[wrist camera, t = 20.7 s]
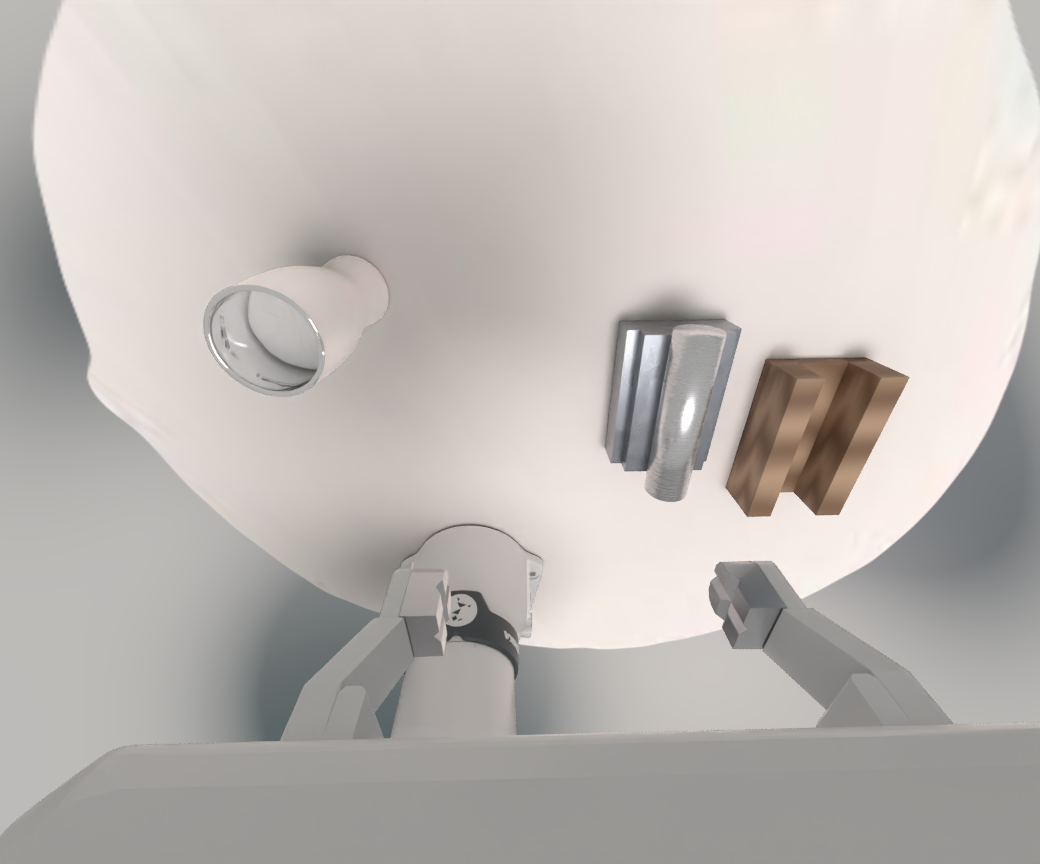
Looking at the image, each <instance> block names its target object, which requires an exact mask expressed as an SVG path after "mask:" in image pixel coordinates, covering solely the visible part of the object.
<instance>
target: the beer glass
mask: <svg viewBox="0 0 1040 864" xmlns="http://www.w3.org/2000/svg"><path fill="white" fill-rule="evenodd" d="M388 303H389V292H388V287H387V284H386V282H385V280H384V278H383V276H382V275H381V273H380V272H379V271H378V270H377V269H376V268H375V267H374V266H373V265H372V264H371V263H369V262H368V261H366V260H364V259H362V258H359V257H356V256H352V255H342V256H337V257H335V258H333V259H331V260H329V261H328V262H327V263H325V264H324V265H323V267H318V266H286V267H281V268H277V269H272V270H269V271H266V272H263V273H260V274H257V275H255V276H252V277H250V278H248V279H246V280H244V281H242V282H240V283H238V284H236V285H234V286H231V287H228V288H225V289H223V290H222V291H220V292H219V293H217V294H216V295H215V296H214V297H213V298H212V299H211V301H210V302H209V304H208V306H207V308H206V311H205V314H204V323H203V325H204V334H205V338H206V341H207V344H208V347H209V349H210V351H211V353H212V354H213V356H214V358H215V359H216V361H217V362H218V363H219V365H220V366H221V367H222V368H223V369H224V370H225V371H226V372H227V373H228V374H229V375H230V376H231V377H233V378H234V379H235V380H236V381H238V382H239V383H241V384H242V385H244V386H246V387H248V388H250V389H252V390H254V391H257V392H259V393H262V394H266V395H271V396H279V397H285V396H293V395H297V394H300V393H303V392H305V391H307V390H309V389H310V388H311V387H313V386H314V385H315V384H316V383H317V382H319V381H320V380H322V379H323V378H325V377H326V376H327V375H329V374H330V373H332V372H333V371H334V370H335V369H336V368H337V367H339V366H340V365H341V364H342V363H343V362H344V361H345V360H346V359H347V358H348V356H349V355H350V354H351V353H352V352H353V350H354V348H355V347H356V345H357V343H358V342H359V340H360V337H361V335H362V333H363V330H364V328H365V327H367V326H370V325H372V324H374V323H376V322H377V321H379V320H380V319H381V318H382V317H383V315H384V314H385V312H386V310H387V307H388Z"/></svg>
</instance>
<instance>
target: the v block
mask: <svg viewBox="0 0 1040 864" xmlns="http://www.w3.org/2000/svg"><path fill="white" fill-rule="evenodd" d="M685 324H698V325H707V326H712V327H716V328H719V329H722V330H724V331H725V332H726V333H727V335H726V339H725V343H724V347H723V351H722V355H721V359H720V363H719V367H718V371H717V375H716V379H715V383H714V387H713V390H712V394H711V398H710V402H709V406H708V410H707V414H706V418H705V422H704V426H703V430H702V434H701V438H700V442H699V445H698V449H697V453H696V457H695V461H694V465H693V469H692V470H701V469H702V465H703V462H704V461H706V459H707V455H708V452H709V448H710V444H711V440H712V437H713V433H714V429H715V426H716V422H717V418H718V415H719V411H720V407H721V403H722V400H723V396H724V392H725V389H726V385H727V381H728V377H729V374H730V370H731V366H732V363H733V359H734V355H735V351H736V348H737V344H738V340H739V337H740V333H741V328H740V327H738V326H736V325H734V324H733V323H731V322H729V321H727V320H675V321H619V329H618V338H617V347H616V356H615V364H614V373H613V382H612V391H611V400H610V408H609V417H608V426H607V435H606V444H605V449H606V452H607V454H608V457H609V460H610V462H611V463H622V466H623V468H624V471H647V468H648V463H649V457H650V452H651V446H652V441H653V436H654V430H655V425H656V419H657V414H658V408H659V403H660V397H661V392H662V387H663V381H664V376H665V370H666V365H667V359H668V354H669V349H670V343H671V338H672V332H673V328H674V327H676V326H679V325H685Z"/></svg>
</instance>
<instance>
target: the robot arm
mask: <svg viewBox="0 0 1040 864" xmlns="http://www.w3.org/2000/svg"><path fill="white" fill-rule="evenodd" d="M714 571H715V573H716V575H717V577H715V578H714V579H713V580H712V581H711V582H710V586H709V599H710V602H711V605H712V608H713V610H714V612H715V614H717V615H718V616H719V617H721V618H722V619H723V620H724V622H723V626H722V628H723V630H724V632H725V634H726V636H727V638H728V640H729V642H730V644H731V646H732V648H733V649H763V652H765V653H766V654H767V655H768V656H769V657H770V658H771V659H772V660H773V661H774V662H775V663H776V664H777V665H779V666H780V667H781V668H782V669H783V670H784V671H785V672H786V673H787V674H788V675H789V676H790V677H791V678H792V679H794V680H795V681H796V682H797V683H798V684H799V685H800V686H801V687H802V688H803V689H804V690H806V691H807V692H808V693H809V694H810V695H811V696H812V697H813V698H814V699H815V700H816V701H817V702H818V703H819V704H821V705H822V706H823V707H824V708H825V709H826V711H825V713H824V714H823V716H822V717H821V718H820V720H819V721H818V723H817V726H816V728H788V729H787V728H786V729H748V730H747V729H746V730H710V731H709V730H706V731H671V732H670V731H666V732H630V733H629V732H625V733H587V734H549V735H516V720H515V697H514V680H515V679H516V677H517V674H518V664H519V647H518V642H519V639H520V637H525V638H529V637H530V636H531V631H532V613H530V610H531V607H532V604H533V601H534V597H535V594H536V591H537V588H538V584H539V581H540V578H541V575H542V572H543V561H542V559H540V558H539V557H537V556H535V555H533V554H531V553H528V552H526V551H525V550H523V549H522V548H521V547H520V546H519V545H518V544H517V543H516V542H515V541H514V540H513V539H512V538H510V537H509V536H507V535H506V534H504V533H502V532H500V531H497V530H494V529H491V528H487V527H482V526H458V527H453V528H449V529H446V530H443V531H441V532H439V533H437V534H435V535H433V536H432V537H431V538H429V539H428V540H427V541H426V542H425V543H424V544H423V546H422V547H421V549H420V550H419V551H418V552H417V553H416V554H415V555H413V556H411V557H409V558H407V559H406V560H404V561H403V562H402V563H401V568H400V569H396V570H395V572H394V573H393V575H392V578H391V582H390V585H389V588H388V591H387V594H386V597H385V600H384V603H383V606H382V610H381V613H380V616H379V618H373V619H372V620H371V621H370V622H369V623H368V624H367V625H366V626H365V627H364V628H363V629H362V630H361V631H360V632H359V633H358V634H357V635H356V636H355V637H354V638H353V639H352V640H351V641H349V642H348V643H347V644H346V645H345V646H344V647H343V648H342V649H341V650H340V651H339V652H338V653H337V654H336V655H335V656H334V657H333V658H332V659H331V660H330V661H329V662H328V663H327V664H326V665H325V666H324V667H323V668H321V670H319V671H318V672H317V673H316V674H315V675H314V676H313V677H312V678H311V679H310V680H309V681H308V682H307V683H306V684H305V685H304V687H303V689H302V692H301V694H300V696H299V698H298V701H297V703H296V705H295V707H294V710H293V712H292V714H291V717H290V719H289V721H288V724H287V726H286V728H285V730H284V733H283V735H282V737H281V740H280V741H268V742H228V743H188V744H147V745H131V746H123V747H119V748H117V749H114V750H111V751H110V752H107V753H106V754H104V755H103V756H101V757H100V758H99V759H97V760H96V761H94V762H93V763H91V764H90V765H88V766H87V767H86V768H84V769H83V770H81V771H80V772H79V773H77V774H76V775H75V776H73V777H72V778H70V779H69V780H68V781H66V782H65V783H64V784H62V785H61V786H60V787H58V788H57V789H56V790H54V791H53V792H51V793H50V794H49V795H47V796H46V797H45V798H44V799H42V800H41V801H39V802H38V803H37V804H36V805H34V806H33V807H32V808H31V809H29V810H28V811H27V812H25V813H24V814H23V815H22V816H20V817H19V818H18V819H17V820H16V821H15V822H14V823H12V824H11V825H10V826H9V827H8V828H7V829H6V830H5V831H4V832H3V833H2V835H1V836H0V864H1040V722H1025V723H1024V722H1022V723H986V724H953V722H952V721H951V720H950V719H949V718H948V717H947V715H946V714H945V713H944V712H943V711H942V709H941V708H940V707H939V706H938V705H937V703H936V702H935V701H934V700H933V699H932V697H931V696H930V695H929V694H928V693H927V692H926V690H925V689H924V688H923V687H922V686H921V685H920V683H919V682H918V681H917V680H916V678H915V677H914V676H913V675H912V674H911V672H910V671H908V670H906V669H905V668H904V667H902V666H901V665H899V664H898V663H896V662H894V661H893V660H891V659H890V658H888V657H887V656H885V655H884V654H882V653H881V652H879V651H878V650H876V649H874V648H873V647H871V646H870V645H868V644H867V643H865V642H864V641H862V640H861V639H859V638H858V637H856V636H854V635H853V634H851V633H850V632H848V631H847V630H845V629H844V628H842V627H840V626H839V625H838V624H836V623H834V622H833V621H831V620H830V619H828V618H827V617H825V616H824V615H822V614H821V613H819V612H817V611H816V610H815V609H813V608H807V607H806V606H805V604H804V603H803V602H802V600H801V599H800V598H799V596H798V595H797V593H796V592H795V591H794V589H793V588H792V587H791V585H790V584H789V582H788V581H787V580H786V578H785V577H784V576H783V574H782V573H781V572H780V570H779V569H778V567H777V566H776V565H775V564H774V563H773V562H771V561H753V562H752V561H739V562H719V563H718V564H717V565H716V568H715V570H714ZM403 674H405V677H404V681H403V685H402V690H401V694H400V699H399V703H398V708H397V712H396V717H395V721H394V726H393V730H392V734H391V738H390V739H384V737H383V735H382V732H381V729H380V727H379V724H378V721H377V719H376V716H375V714H374V713H375V712H376V710H377V709H378V708H379V706H380V705H381V703H382V702H383V701H384V699H385V698H386V696H387V695H388V694H389V692H390V691H391V690H392V689H393V687H394V686H395V684H396V683H397V682H398V680H399V679H400V678H401V676H402V675H403Z"/></svg>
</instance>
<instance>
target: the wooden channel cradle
mask: <svg viewBox="0 0 1040 864" xmlns="http://www.w3.org/2000/svg"><path fill="white" fill-rule="evenodd" d="M908 379H909V377H908V376H906V375H903V374H901V373H899V372H897V371H895V370H892V369H890V368H888V367H886V366H883V365H881V364H879V363H877V362H874V361H872V360H870V359H868V358H827V359H768V360H766V361H765V364H764V368H763V371H762V374H761V377H760V380H759V383H758V387H757V390H756V393H755V396H754V399H753V403H752V406H751V409H750V412H749V415H748V419H747V422H746V425H745V428H744V431H743V435H742V438H741V441H740V444H739V447H738V451H737V454H736V457H735V460H734V463H733V467H732V470H731V473H730V476H729V479H728V483H727V486H726V489H727V490H728V491H729V493H730V494H731V495H732V497H733V498H734V500H735V501H736V502H737V504H738V505H739V506H740V508H741V509H742V510H743V512H744V513H745V514H746V516H747V517H757V516H770V515H771V513H772V510H773V508H774V505H775V503H776V500H777V498H778V496H779V493H780V492H794V493H795V494H796V495H797V496H798V497H799V498H800V499H801V500H802V501H803V502H804V503H805V504H806V505H807V506H808V507H809V509H810V510H811V511H812V512H813V513H814V514H815V515H839V514H840V512H841V510H842V508H843V506H844V504H845V502H846V500H847V498H848V496H849V494H850V492H851V490H852V488H853V486H854V484H855V482H856V480H857V479H858V477H859V475H860V473H861V471H862V469H863V467H864V465H865V463H866V461H867V459H868V457H869V455H870V453H871V451H872V449H873V447H874V445H875V443H876V442H877V440H878V438H879V436H880V434H881V432H882V430H883V428H884V426H885V424H886V422H887V420H888V418H889V416H890V414H891V412H892V410H893V408H894V407H895V405H896V403H897V401H898V399H899V397H900V395H901V393H902V391H903V389H904V387H905V385H906V383H907V381H908Z"/></svg>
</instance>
